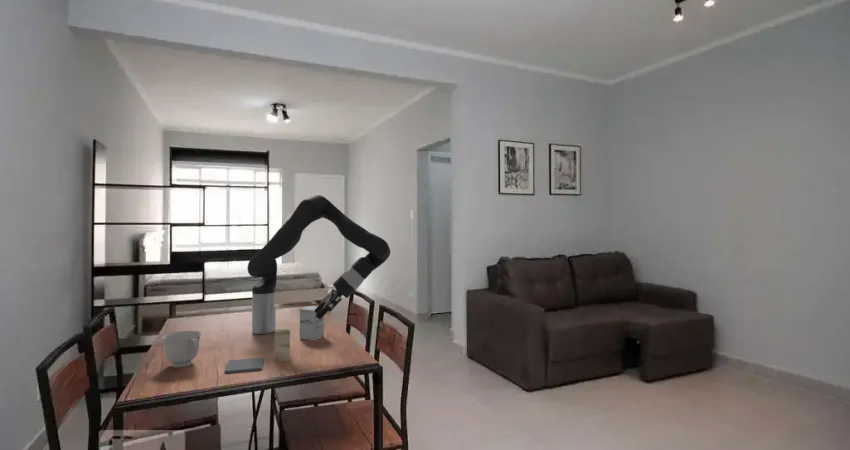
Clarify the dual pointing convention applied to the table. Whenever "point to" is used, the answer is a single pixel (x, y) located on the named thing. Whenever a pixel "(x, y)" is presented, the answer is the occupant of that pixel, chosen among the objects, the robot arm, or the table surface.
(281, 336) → the beech block
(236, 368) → the slate coaster
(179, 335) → the teacup
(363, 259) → the robot arm
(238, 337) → the table surface
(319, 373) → the table surface
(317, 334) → the supplement box
